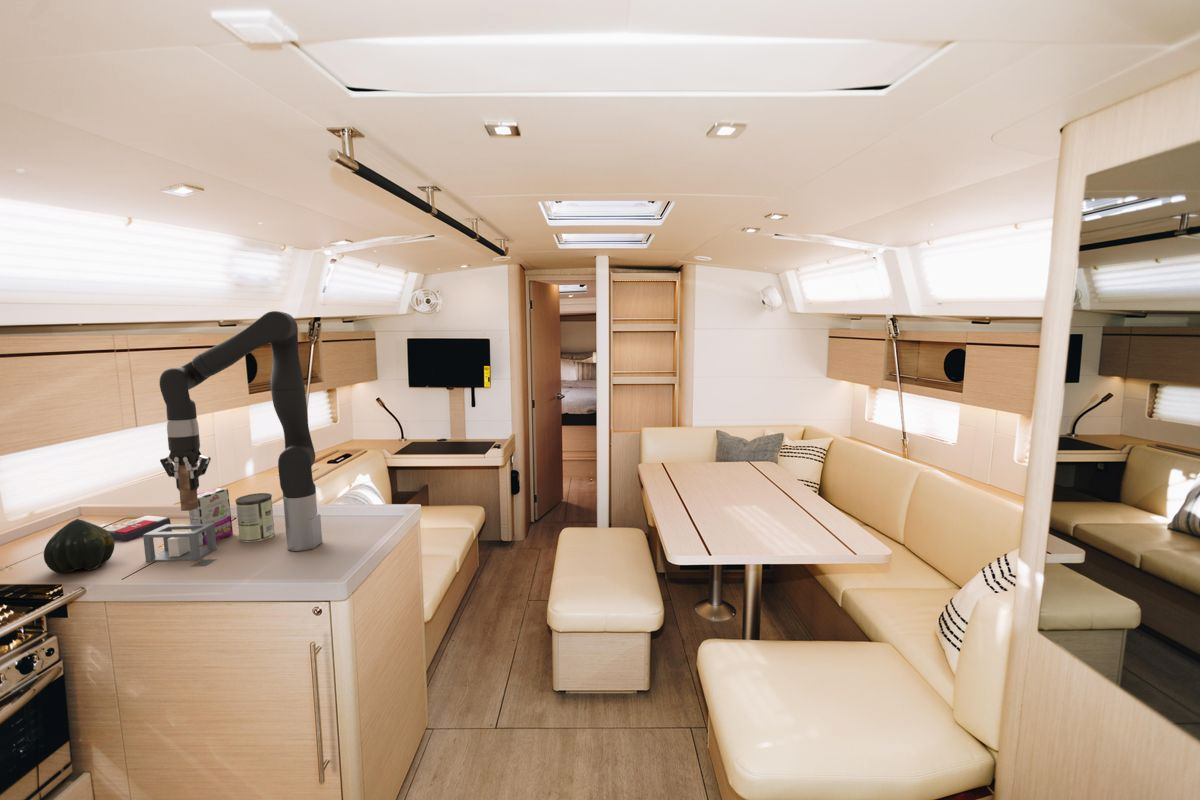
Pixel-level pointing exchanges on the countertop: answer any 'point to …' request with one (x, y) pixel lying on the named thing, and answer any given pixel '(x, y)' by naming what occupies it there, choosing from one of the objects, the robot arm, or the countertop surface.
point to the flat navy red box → (137, 527)
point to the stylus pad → (204, 562)
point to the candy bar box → (213, 513)
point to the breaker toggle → (178, 546)
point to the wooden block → (186, 490)
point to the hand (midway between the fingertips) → (188, 489)
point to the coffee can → (255, 517)
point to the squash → (78, 547)
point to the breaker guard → (167, 533)
